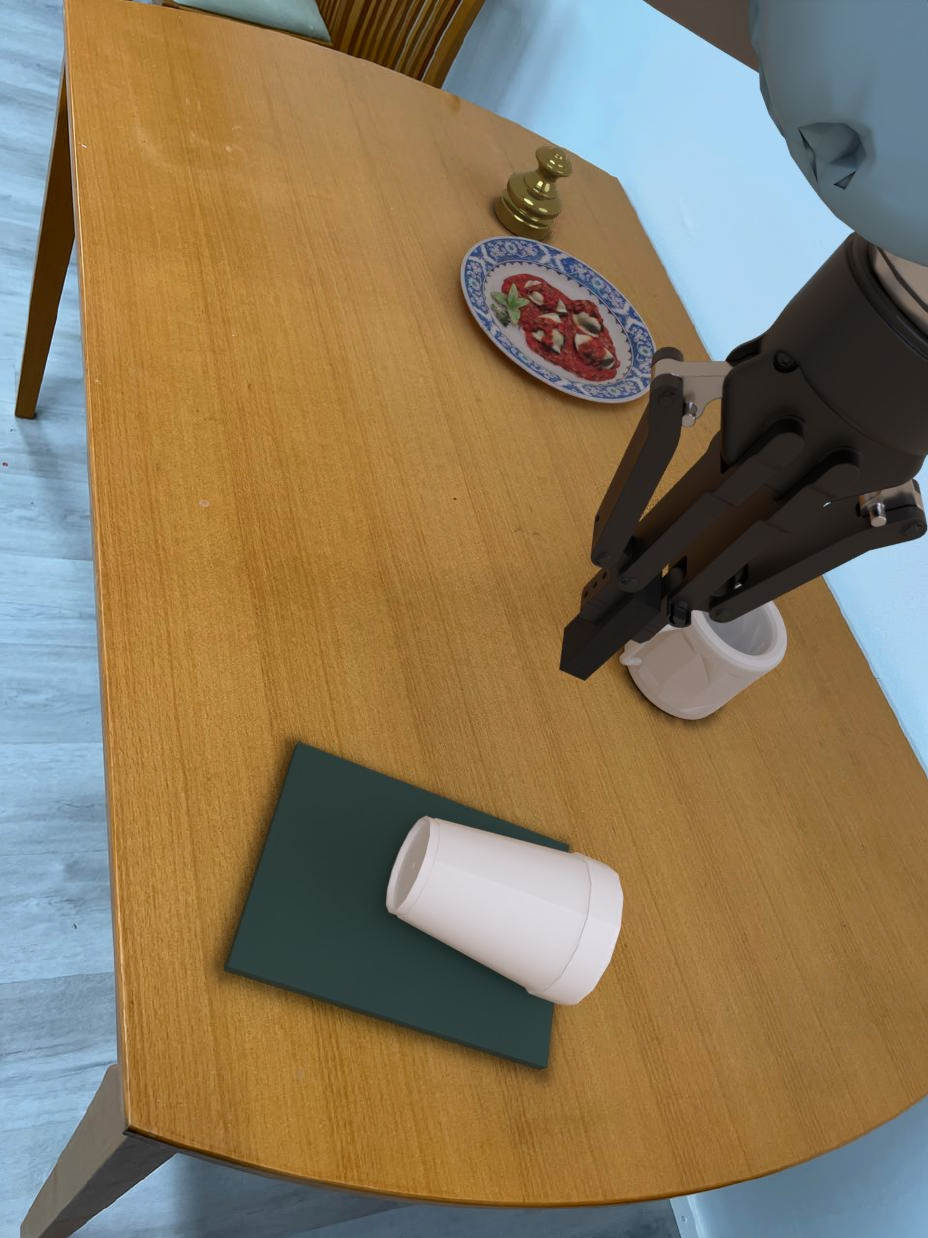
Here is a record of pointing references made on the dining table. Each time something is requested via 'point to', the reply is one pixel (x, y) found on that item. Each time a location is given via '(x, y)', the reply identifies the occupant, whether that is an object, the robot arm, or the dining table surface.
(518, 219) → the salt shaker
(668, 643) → the mug
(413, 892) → the foam cup
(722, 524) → the robot arm
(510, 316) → the ceramic plate
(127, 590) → the dining table surface
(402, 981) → the mat
